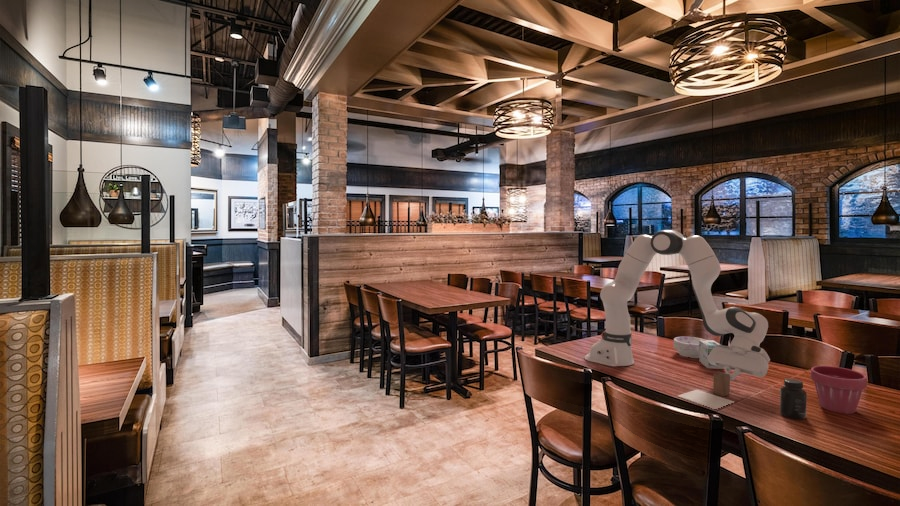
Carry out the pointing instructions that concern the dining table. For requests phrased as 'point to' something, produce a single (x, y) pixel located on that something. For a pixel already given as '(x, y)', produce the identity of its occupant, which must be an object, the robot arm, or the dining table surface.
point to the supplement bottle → (793, 399)
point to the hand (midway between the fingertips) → (728, 378)
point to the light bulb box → (707, 352)
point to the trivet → (705, 399)
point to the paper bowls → (687, 346)
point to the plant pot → (838, 388)
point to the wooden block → (721, 384)
